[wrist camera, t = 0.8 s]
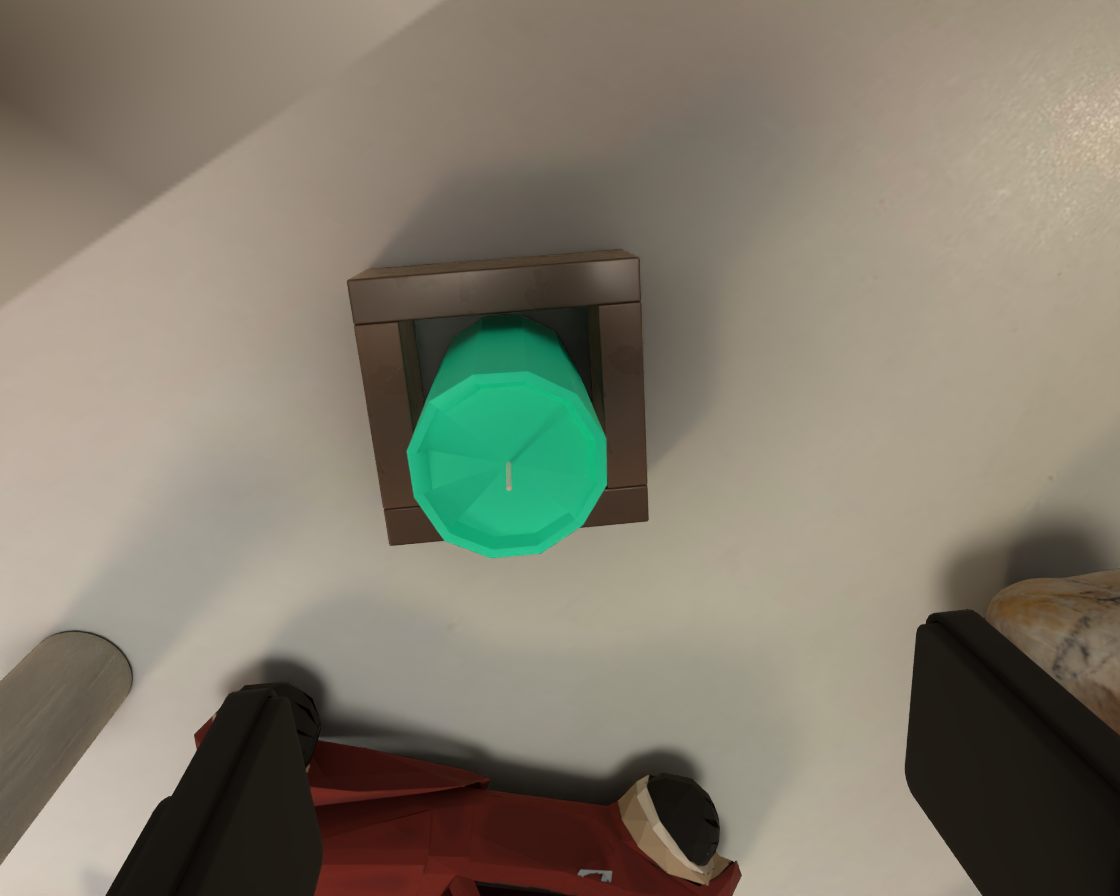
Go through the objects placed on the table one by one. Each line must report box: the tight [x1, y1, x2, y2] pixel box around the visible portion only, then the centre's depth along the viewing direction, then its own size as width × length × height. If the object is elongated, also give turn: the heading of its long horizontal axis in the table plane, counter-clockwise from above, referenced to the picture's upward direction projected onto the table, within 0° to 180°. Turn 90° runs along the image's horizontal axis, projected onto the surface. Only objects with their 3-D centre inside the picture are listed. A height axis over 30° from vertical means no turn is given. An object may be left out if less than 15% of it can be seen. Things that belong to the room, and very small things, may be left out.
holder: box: [347, 249, 649, 546], centre depth 30 cm, size 10×10×4 cm
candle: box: [407, 315, 607, 558], centre depth 26 cm, size 6×6×12 cm
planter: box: [0, 632, 132, 865], centre depth 30 cm, size 4×4×10 cm
